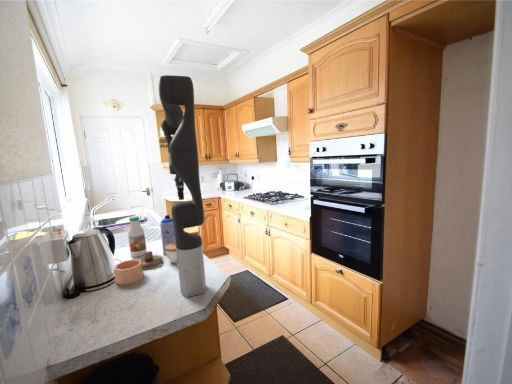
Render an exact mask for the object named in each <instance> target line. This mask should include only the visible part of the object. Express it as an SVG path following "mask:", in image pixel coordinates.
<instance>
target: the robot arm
mask: <svg viewBox="0 0 512 384" xmlns="http://www.w3.org/2000/svg"><path fill="white" fill-rule="evenodd" d="M192 80H193V79H192V78H191V77H190V76H186V75H169V74H167V75H165V74H164V75H161V76H159V79H158V81H157V83H158V84H157V89H158V96H159V101H160V104H161V106H162V108H163V111H164V117H165V118H163V119H162V120H161V123H160V125H161V130H162V132H163V134H164V136H165V139H166V144H167V153H168V158H167V159H168V166H169V174H170V175H175V176H174V182H175V187H176V190H177V197H178V200H179V201H181V202H176V203H173V204H172V207H171V218H172V219H173V225H174V232H175V241H176V251H177V262H178V263H177V270H178V278H179V279H178V280H179V287H180V293H181V295H183V296H185V298H189V297H194V296H198V295H203V294H204V292H205V291H206V289H207V283H206V273H205V271H206V270H205V261H204V250H203V239H202V236H201V235H200V234H198V233H197V234H195V233H191V232H188V231H185V230H184V229H189V228H194V227H199V226H202V225H203V224H204V222H205V211H204V204H203V197H202V190H201V182H200V181H201V180H200V167H199V166H200V165H199V152H198V150H199V149H198V142H197V133H196V121H195V120H196V119H195V118H196V116H195V90H194V83H193V81H192ZM181 106H184V111H183V108H182V107H181ZM172 135H173V136H172ZM185 186H186V187H187V189H188V191H189V192H190V195H191V199H192V200H190V201H183V200H184V199H185V193H184V191H185V188H184V187H185Z"/></svg>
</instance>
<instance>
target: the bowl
mask: <svg viewBox="0 0 512 384" xmlns="http://www.w3.org/2000/svg"><path fill="white" fill-rule="evenodd" d="M113 273H114V281H115V284H118V285H121V286H123V285H128V284H134V283H136V282H138V281H140V280H141V279H143V277H144V270H143V268H142V261H141V260H140V259H136V258H135V259H129V260H128V259H127V260H124V261H121V262H119V263H117V264H116V265H114V268H113Z"/></svg>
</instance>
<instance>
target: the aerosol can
mask: <svg viewBox="0 0 512 384" xmlns="http://www.w3.org/2000/svg"><path fill="white" fill-rule="evenodd" d="M159 223H160V225H159V226H160V233H161V244H162V251H163V252H162V255H163V256H165V257H167V255H166V251H165V246H166V245H168V244H170V243H173V242H176V241H175V232H174V225H173V219H172V216H171V217H170V215H169V214H166V215H165V216H164V218H163V219H161V221H160V222H159Z"/></svg>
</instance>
